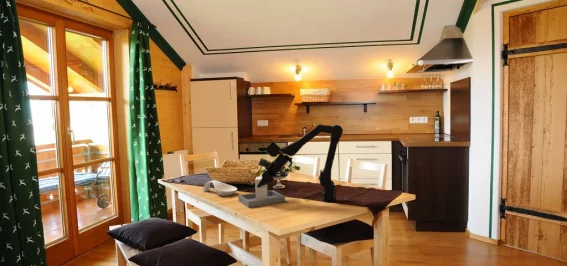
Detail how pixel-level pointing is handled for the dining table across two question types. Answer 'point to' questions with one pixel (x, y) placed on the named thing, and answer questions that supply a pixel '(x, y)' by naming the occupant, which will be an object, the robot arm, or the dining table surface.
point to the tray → (251, 200)
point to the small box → (260, 189)
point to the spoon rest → (220, 188)
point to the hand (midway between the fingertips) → (258, 185)
